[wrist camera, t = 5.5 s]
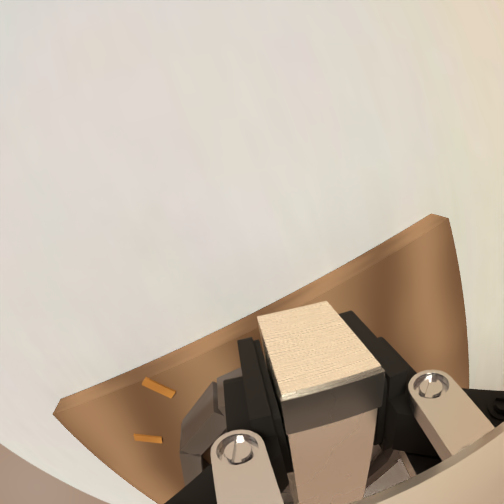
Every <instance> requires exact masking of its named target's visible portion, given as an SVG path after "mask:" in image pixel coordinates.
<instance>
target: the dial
mask: <svg viewBox="0 0 504 504" xmlns="http://www.w3.org/2000/svg"><path fill="white" fill-rule="evenodd" d="M257 319H258V325H259V330H260V335H261V341H262V346H263V352H264V357H265V362H266V366H267V370H268V373H269V377H270V380H271V384H272V387H273V391H274V394H275V398H276V401H277V405H278V408H279V412H280V416H281V420H282V424H283V429H284V433H285V437H286V441H287V446H288V450H289V454H290V458H291V462H292V467H293V471H294V472H291V473H287V476H288V479H289V483H290V484H289V485H288V486H287V487H286V489H285V490H284V491H283V492H282V493H281V495H282V498H283V501H284V503H285V502H294V504H349V503H352V502H355V501H358V500H360V499H363V496H364V492H365V487H366V482H367V477H368V471H369V466H370V465H371V464H372V463H373V462H374V461H375V460H376V459H377V457H378V456H379V455H380V453H381V452H382V450H381V448H380V446H379V444H378V445H373V441H374V434H375V426H376V418H377V410H378V407H381V406H382V401H383V392H384V381H385V370H384V369H383V368H381V365H380V363H379V362H378V361H377V360H376V359H375V357H374V356H373V355H372V354H371V353H370V351H369V350H368V349H367V348H366V347H365V345H364V344H363V343H362V342H361V341H360V339H359V338H358V337H357V336H356V335H355V333H354V332H353V331H352V330H351V329H350V328H349V326H348V325H347V324H346V323H345V322H344V320H343V319H342V318H341V317H340V316H339V315H338V313H337V312H336V311H335V310H334V309H333V307H332V306H331V305H330V304H329V303H328V302H327V301H323V302H319V303H315V304H311V305H306V306H302V307H298V308H293V309H289V310H284V311H280V312H275V313H271V314H266V315H261V316H257ZM225 433H227V428H226V429H225V430H224V431H223V433H222V434H221V435H220V436H222V435H224V434H225ZM220 436H219V437H220ZM219 437H218V438H219ZM218 438H217V439H218ZM217 439H216V440H217ZM216 440H215V441H216ZM215 441H214V442H215ZM214 442H213V443H214ZM213 443H212V444H211V447H212V445H213Z"/></svg>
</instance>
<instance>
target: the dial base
mask: <svg viewBox="0 0 504 504" xmlns="http://www.w3.org/2000/svg"><path fill="white" fill-rule="evenodd" d="M323 301H327V302H328V303H329V304H330V305H331V306H332V307H333V309H334V310H335V311H336V312H337V313H338V314H340V313H344V312H347V311H350V310H352V311H353V312H354V313H355V314H356V315H357V316H358V317H359V319H360V320H361V321H362V322H363V323H364V324H365V325H366V326H367V327H368V328H369V329H370V330H371V331H372V332H373V334H374V335H375V336H376V337H377V338H378V337H383V338H384V339H385V340H386V341H387V342H388V343H389V344H390V345H391V346H392V347H393V348H394V349H395V350H396V351H397V352H398V353H399V354H400V355H401V357H402V358H403V359H404V360H405V361H406V362H407V363H408V364H409V365H410V366H411V367H412V368H413V369H414V370H415V371H416V373H419V372H422V371H425V370H440V371H443V372H445V373H447V374H448V375H449V376H451V377H452V378H453V380H454V381H455V382H456V383H457V384H458V385H459V386H460V387H461V388H466V389H469V359H468V339H467V326H466V316H465V306H464V298H463V291H462V284H461V277H460V271H459V265H458V260H457V254H456V249H455V244H454V240H453V235H452V231H451V226H450V222H449V218H446V217H442V216H439V215H435V214H430V215H428V216H427V217H425V218H423V219H422V220H420V221H418V222H417V223H415V224H413V225H412V226H410V227H408V228H407V229H405V230H403V231H402V232H400V233H398V234H397V235H395V236H393V237H392V238H390V239H388V240H387V241H385V242H383V243H381V244H380V245H378V246H376V247H375V248H373V249H371V250H369V251H368V252H366V253H364V254H362V255H361V256H359V257H357V258H355V259H354V260H352V261H350V262H348V263H346V264H345V265H343V266H341V267H339V268H337V269H336V270H334V271H332V272H330V273H328V274H327V275H325V276H323V277H321V278H319V279H317V280H316V281H314V282H312V283H310V284H308V285H306V286H304V287H302V288H301V289H299V290H297V291H295V292H293V293H291V294H289V295H287V296H285V297H283V298H282V299H280V300H278V301H276V302H274V303H272V304H270V305H268V306H266V307H264V308H262V309H260V310H258V311H256V312H254V313H252V314H250V315H248V316H246V317H244V318H242V319H240V320H238V321H236V322H234V323H232V324H230V325H228V326H226V327H224V328H222V329H220V330H218V331H216V332H214V333H212V334H210V335H207V336H205V337H203V338H201V339H199V340H197V341H195V342H193V343H191V344H188V345H186V346H184V347H182V348H180V349H178V350H175V351H173V352H171V353H169V354H167V355H164V356H162V357H160V358H158V359H156V360H153V361H151V362H149V363H147V364H144V365H142V366H140V367H137V368H135V369H133V370H131V371H128V372H126V373H124V374H121V375H119V376H117V377H114V378H112V379H109V380H107V381H105V382H102V383H100V384H97V385H95V386H93V387H90V388H88V389H85V390H83V391H80V392H78V393H75V394H73V395H70V396H67V397H65V398H62V399H60V401H59V403H58V405H57V407H56V409H55V411H54V412H53V415H54V416H55V417H56V418H57V419H58V420H59V421H60V423H61V424H62V425H63V426H64V427H65V428H66V429H67V430H68V431H69V432H70V433H71V434H72V435H73V436H74V437H76V438H77V439H78V440H79V441H80V442H81V443H82V444H83V445H84V446H85V447H86V448H87V449H88V450H89V451H91V452H92V453H93V454H94V455H95V456H96V457H97V458H99V459H100V460H101V461H102V462H103V463H104V464H106V465H107V466H108V467H109V468H110V469H112V470H113V471H114V472H115V473H117V474H118V475H119V476H120V477H122V478H123V479H124V480H126V481H127V482H128V483H129V484H131V485H132V486H133V487H135V488H136V489H138V490H139V491H140V492H142V493H143V494H145V495H146V496H147V497H149V498H150V499H152V500H153V501H155V502H156V503H158V504H164V503H165V502H167V501H168V500H169V499H170V498H172V497H173V496H174V495H175V494H177V493H178V492H179V491H180V490H181V489H183V488H184V487H185V486H186V485H187V484H189V483H190V482H191V481H192V480H193V479H194V478H195V477H197V476H198V475H199V474H200V473H201V472H202V471H203V470H205V469H206V468H207V467H208V466H209V465H210V464H211V455H210V454H211V444H212V443H213V442H214V441H215V440H216V439H217V438H218V437H219V436H220V435H221V434H222V433H223V431H224V430H225V429H226V428H227V426H226V414H225V401H224V387H223V381H224V380H226V379H231V378H236V377H240V376H242V370H241V364H240V357H239V351H238V344H237V340H240V339H245V338H249V337H252V339H253V341H254V340H258V339H259V341H260V344H261V348H262V352H263V346H262V341H261V335H260V330H259V325H258V319H257V316H261V315H266V314H271V313H275V312H280V311H284V310H289V309H293V308H298V307H302V306H306V305H311V304H315V303H319V302H323ZM263 355H264V352H263ZM264 359H265V357H264ZM400 458H401V457H400V455H399V452H398V450H394V449H392V448H390V449H387V450H385V451H382V452H381V453H380V455H379V456H378V457H377V459H376V460H375V461H374V462H373V463H372V464H371V465H370V466H369V471H368V477H367V482H366V487H365V489H366V488H367V487H368V486H370V485H371V484H372V483H373V482H374V481H376V480H377V479H378V478H379V477H381V476H382V475H383V474H384V473H385V472H386V471H388V470H389V469H390V468H391V467H392V466H393V465H394V464H396V463H397V462H398V461H397V459H400ZM284 504H294V502H285V503H284Z"/></svg>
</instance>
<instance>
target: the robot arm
mask: <svg viewBox="0 0 504 504" xmlns="http://www.w3.org/2000/svg"><path fill="white" fill-rule="evenodd" d="M338 315H339V316H340V317H341V318H342V319H343V320H344V322H345V323H346V324H347V325H348V326H349V328H350V329H351V330H352V331H353V332H354V333H355V335H356V336H357V337H358V338H359V339H360V341H361V342H362V343H363V344H364V345H365V347H366V348H367V349H368V350H369V351H370V353H371V354H372V355H373V356H374V357H375V359H376V360H377V361H378V362H379V363H380V365H381V368H383V369H384V370H385V381H384V392H383V401H382V406H381V407H378V410H377V418H376V426H375V434H374V441H373V445H378V444H379V446H380V448H381V450H382V451H385V450H387V449H390V448H392V449H394V450H398V452H399V455H400V457H401V459H402V461H403V463H404V465H405V467H406V469H407V471H408V473H409V475H410V477H411V478H410V479H408V480H406V481H403V482H401V483H399V484H397V485H395V486H392V487H390V488H388V489H385V490H383V491H381V492H378V493H376V494H373V495H371V496H368V497H366V498H363V499H360V500H358V501H355V502H352V503H349V504H504V391H492V390H478V389H466V388H461V387H460V386H459V385H458V384H457V383H456V382H455V381H454V380H453V378H452V377H451V376H449V375H448V374H447V373H445V372H443V371H440V370H425V371H422V372H419V373H416V371H415V370H414V369H413V368H412V367H411V366H410V365H409V364H408V363H407V362H406V361H405V360H404V359H403V358H402V357H401V355H400V354H399V353H398V352H397V351H396V350H395V349H394V348H393V347H392V346H391V345H390V344H389V343H388V342H387V341H386V340H385V339H384V338H383V337H378V338H377V337H376V336H375V335H374V334H373V332H372V331H371V330H370V329H369V328H368V327H367V326H366V325H365V324H364V323H363V322H362V321H361V320H360V319H359V317H358V316H357V315H356V314H355V313H354V312H353V311H352V310H350V311H347V312H344V313H340V314H338ZM237 344H238V351H239V357H240V364H241V370H242V376H240V377H236V378H231V379H226V380H224V381H223V387H224V401H225V414H226V426H227V433H225V434H224V435H222V436H220V437H219V438H218V439H217V440H216V441H215V442H214V443H213V445H212V447H211V454H210V455H211V464H210V465H209V466H208V467H207V468H206V469H205V470H203V471H202V472H201V473H200V474H199V475H198V476H197V477H195V478H194V479H193V480H192V481H191V482H190V483H189V484H187V485H186V486H185V487H184V488H183V489H181V490H180V491H179V492H178V493H177V494H175V495H174V496H173V497H172V498H170V499H169V500H168V501H167V502H165V503H164V504H284V501H283V498H282V495H281V493H282V492H283V491H284V490H285V489H286V487H287V486H288V485H289V484H290V483H289V479H288V476H287V473H291V472H294V471H293V467H292V462H291V458H290V454H289V450H288V446H287V441H286V437H285V433H284V429H283V424H282V420H281V416H280V412H279V408H278V405H277V401H276V398H275V394H274V391H273V387H272V384H271V380H270V377H269V373H268V370H267V366H266V362H265V359H264V355H263V352H262V348H261V344H260V341H259V339H258V340H254V341H253V339H252V337H249V338H245V339H240V340H237Z"/></svg>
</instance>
